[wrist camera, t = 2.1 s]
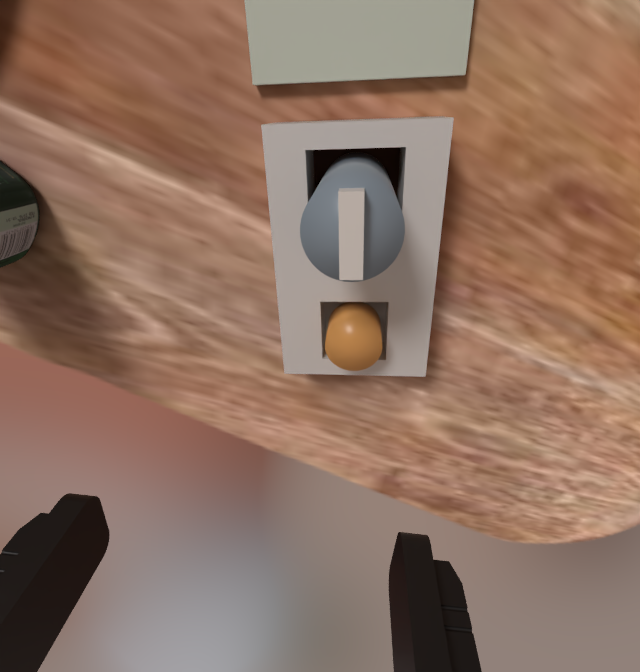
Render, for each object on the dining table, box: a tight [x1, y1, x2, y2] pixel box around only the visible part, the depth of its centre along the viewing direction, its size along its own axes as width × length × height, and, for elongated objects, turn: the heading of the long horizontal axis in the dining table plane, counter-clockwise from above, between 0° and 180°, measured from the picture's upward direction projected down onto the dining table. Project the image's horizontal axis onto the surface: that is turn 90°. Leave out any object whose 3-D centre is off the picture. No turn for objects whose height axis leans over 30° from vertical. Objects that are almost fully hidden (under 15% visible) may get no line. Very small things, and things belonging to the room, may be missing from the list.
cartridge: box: [300, 152, 405, 282], centre depth 22 cm, size 4×4×12 cm
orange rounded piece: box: [325, 302, 382, 371], centre depth 27 cm, size 4×4×3 cm
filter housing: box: [261, 116, 454, 377], centre depth 27 cm, size 16×10×4 cm, turn 2°
